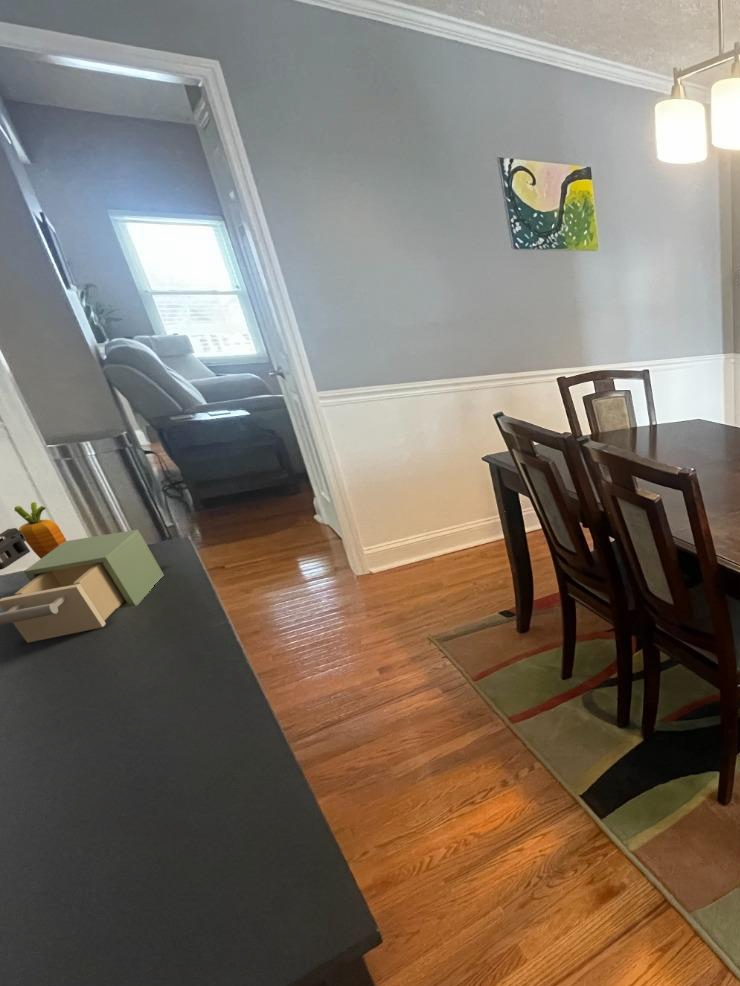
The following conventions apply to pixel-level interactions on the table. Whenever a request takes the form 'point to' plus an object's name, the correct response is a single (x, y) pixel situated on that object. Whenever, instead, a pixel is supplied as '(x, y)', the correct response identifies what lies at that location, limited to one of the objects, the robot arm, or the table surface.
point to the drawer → (62, 602)
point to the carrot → (40, 531)
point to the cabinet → (108, 562)
